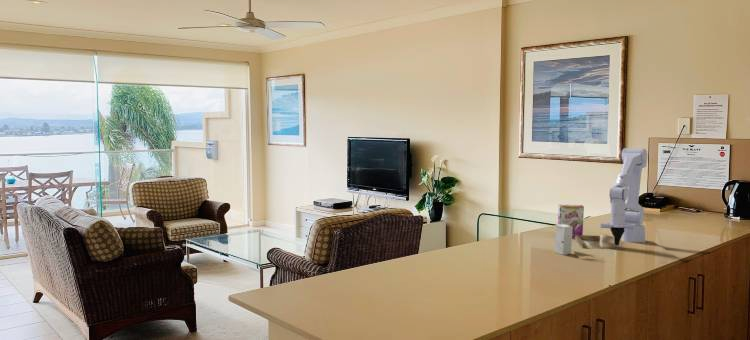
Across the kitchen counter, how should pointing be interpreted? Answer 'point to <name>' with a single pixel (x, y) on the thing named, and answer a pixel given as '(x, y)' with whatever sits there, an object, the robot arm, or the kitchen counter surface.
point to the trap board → (593, 242)
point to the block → (606, 241)
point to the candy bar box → (571, 217)
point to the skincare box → (563, 239)
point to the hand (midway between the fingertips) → (616, 244)
